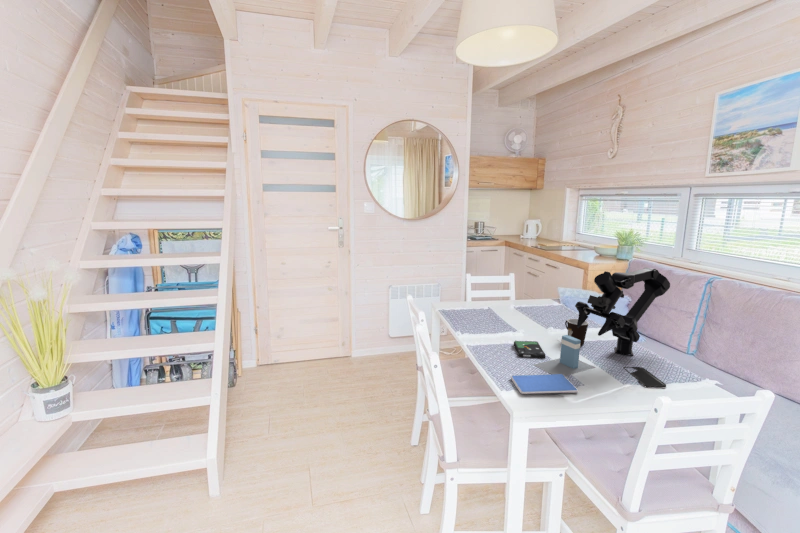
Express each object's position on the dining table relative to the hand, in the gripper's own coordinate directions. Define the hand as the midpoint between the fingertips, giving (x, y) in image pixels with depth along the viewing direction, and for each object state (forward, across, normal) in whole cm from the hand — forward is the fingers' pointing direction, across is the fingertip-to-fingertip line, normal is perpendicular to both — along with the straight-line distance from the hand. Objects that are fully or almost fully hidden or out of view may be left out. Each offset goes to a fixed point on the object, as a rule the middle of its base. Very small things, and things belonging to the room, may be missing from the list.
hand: (587, 331), depth 153 cm
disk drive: (+19, -18, +1) cm, 26 cm away
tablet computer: (+30, +7, -14) cm, 34 cm away
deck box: (+15, 0, +2) cm, 15 cm away
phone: (+4, +19, +14) cm, 24 cm away
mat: (+17, 0, 0) cm, 17 cm away
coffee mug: (0, -16, +21) cm, 26 cm away
